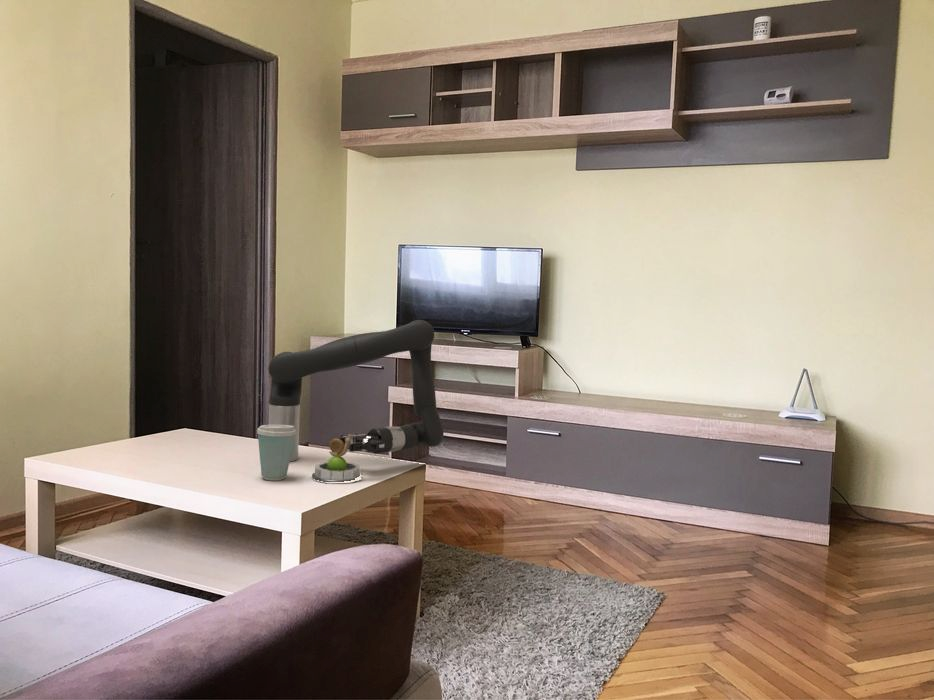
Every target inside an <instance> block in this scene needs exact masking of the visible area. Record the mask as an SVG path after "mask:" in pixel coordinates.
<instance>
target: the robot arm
mask: <svg viewBox="0 0 934 700" xmlns="http://www.w3.org/2000/svg"><path fill="white" fill-rule="evenodd" d="M434 340H435V330H434V328H433V326H432V324H430V323H429V322H427V321H426V320H423V319H416V320H413V321H411V322H409V323H407V324H404V325H400V326H397V327H395V328H392V329H388V330H382V331H375V332H374V331H373V332H372V331H371V332H365V333H359V334H354V335H349V336H347V337H342V338H338V339H335V340H333V341H329V342H327V343H324V344H322V345H320V346H317V347H315V348H310V349H307V350H302V351H301V350H300V351H295V352H291V351H282V352H280V353H278V354H276V355H274V356H273V357H272V358H271V360H270V361H269V363H268V368H267V369H268V370H267V371H268V374H269V376H270V377H271V388H270V393H269V398H268V399H269V400H268V425H290V426H294V427H295V428H294V429H295V430H296V434H295V438H294V442H293V447H292V452H291V457H290V461H291V462H296V461H298V460H299V445H300V443H299V442H300V415H301V414H300V413H301V411H300V410H301V397H302V396H301V395H302V386H303V378H304V377H307V376H310V375H313V374H317V373H322V372H329V371H331V372H332V371H337V370H343V369H349V368H351V367H356V366H359V365H360V366H361V365H363V364H367V363H370V362H373V361H375V360H379V359H381V358H384V357H387V356H390V355H393V354H398V353H403V352H404V353H405V352H409V355H410V363H411V373H412V374H411V375H412V378H411V381H412V400H413V410H414V413H415V415H416V416H417V417H419V418H421V420H422V422H420V423H419V422H418V423H413V424H409V425H402V426H384V427H383V426H382V427H375V428H371V429H369V431H368V432H367V434H364V433H361V434H359V433H350V434H351V436H348V434H341V435H340V437H334V438H331V440H333V439H335V438H337V439H340V440H342V441H343V443H344V446H345V443H346V442H345V439H346V438H350V443H349V447H348V450H349V452H351V453H353V452H360V451H361V452H367V453H372V454H374V455H375V454H376V455H377V454H385V453H392V452H397V451H400V450H407V449H411V448H414V447H415V446H425V447H432V448H433V447H437V446H439V445H440V444H441V443H442V442H443V439H444V433H445V432H444V427H443V424H442V421H441V418H440V414H439V412H438V409H437V398H436V389H435V382H434V381H435V380H434V376H433V370H432V369H433V368H432V367H433V366H432V345H433V342H434ZM297 459H298V460H297ZM295 460H296V461H295Z"/></svg>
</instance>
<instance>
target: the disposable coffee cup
mask: <svg viewBox="0 0 934 700" xmlns="http://www.w3.org/2000/svg"><path fill="white" fill-rule="evenodd" d="M294 428H295V427H294V426H290V425H269V424H262V425H260V426H259V427H258V428H256V433H257V439H258V441H257V442H258V451H259V462H260V463H259V464H260V474H261V477H262V479H263V480H266V481H282V479H283V480H285V479H286V477H287V476H288V471H289V467H290V466H289V465H290V457H291V452H292V447H293V442H294V438H295V434H296V430H295V429H294ZM284 478H285V479H284Z"/></svg>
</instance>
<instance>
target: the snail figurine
mask: <svg viewBox="0 0 934 700" xmlns="http://www.w3.org/2000/svg"><path fill="white" fill-rule="evenodd" d="M351 434H352V433H349V434H347V435H348V436H351ZM334 438H335V439H333V438H332V439H333V440H332V439H331V440H330V442H329V444H328V445H329V452H328V453H329V454H330V455H331V457H330V458H329V459H328V461H327V462H328V463H327V468H328V470H339V471H343V470H346V467H347V464H346V462H347V460H346V459H345V458H344V457H343V456H345V455H346V454H347V452H348V450H349V443H350V438H346V439H345V442H346V443H345V446H344V443H343V441H342V440H340V439H337V438H338V437H334Z"/></svg>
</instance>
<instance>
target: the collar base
mask: <svg viewBox="0 0 934 700" xmlns="http://www.w3.org/2000/svg"><path fill="white" fill-rule="evenodd" d="M327 463H328V461H324V462H320V463H316V464H315V465H314V472H313V473H312V474H311V478H313V479H315V480H319V481H323V482H344V481H351V480H355V478H357V477H359V476H360V472H361V466H360V464H357V463H355V462H348V461H346V464H347V467H346V470H343V471H339V470H328V468H327ZM313 479H312V480H313Z"/></svg>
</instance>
